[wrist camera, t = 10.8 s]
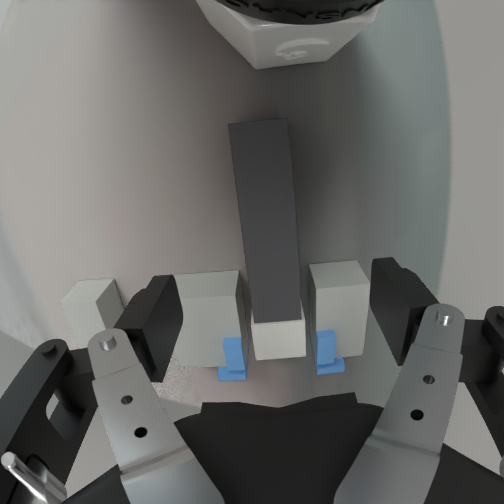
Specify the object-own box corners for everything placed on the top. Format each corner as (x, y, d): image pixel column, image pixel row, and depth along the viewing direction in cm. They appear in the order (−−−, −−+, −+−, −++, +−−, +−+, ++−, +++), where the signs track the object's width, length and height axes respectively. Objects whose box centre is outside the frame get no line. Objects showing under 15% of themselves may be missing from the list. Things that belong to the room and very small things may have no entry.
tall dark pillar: (231, 123, 19) (223, 124, 15) (285, 118, 19) (291, 117, 15) (257, 324, 25) (255, 360, 21) (300, 320, 25) (305, 356, 21)
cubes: (79, 280, 24) (53, 308, 20) (356, 260, 22) (374, 290, 18) (103, 343, 26) (85, 374, 22) (351, 332, 25) (364, 368, 21)
